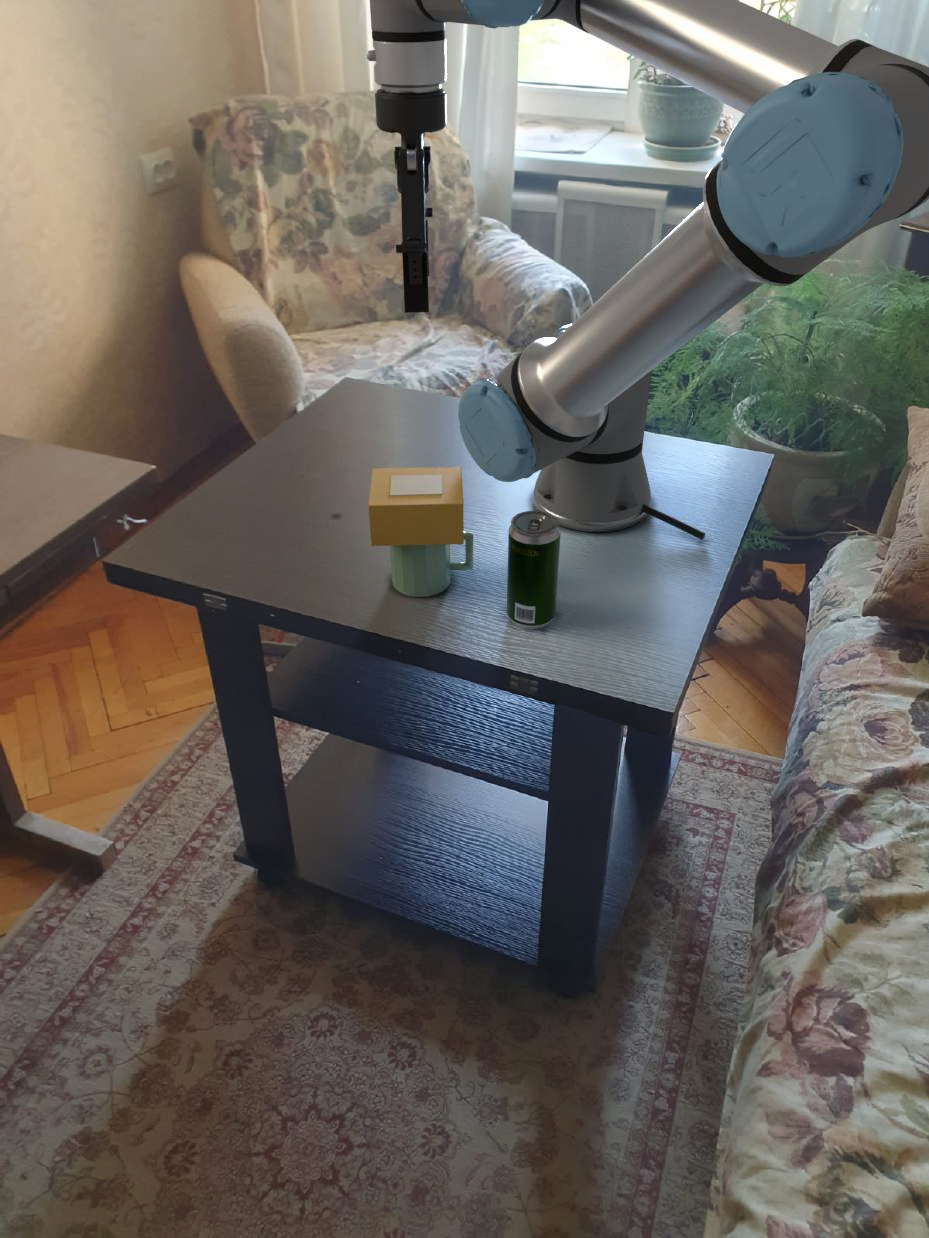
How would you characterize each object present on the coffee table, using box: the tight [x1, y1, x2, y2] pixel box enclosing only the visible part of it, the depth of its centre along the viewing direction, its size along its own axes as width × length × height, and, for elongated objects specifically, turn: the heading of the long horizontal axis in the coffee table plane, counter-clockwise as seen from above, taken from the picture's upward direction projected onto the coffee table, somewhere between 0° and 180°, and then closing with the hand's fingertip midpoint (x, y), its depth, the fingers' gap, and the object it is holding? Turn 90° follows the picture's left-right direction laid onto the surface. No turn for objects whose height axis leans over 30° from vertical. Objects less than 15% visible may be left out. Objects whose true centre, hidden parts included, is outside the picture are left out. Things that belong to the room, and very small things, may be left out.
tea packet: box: [367, 466, 465, 547], centre depth 103 cm, size 10×8×5 cm
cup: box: [389, 531, 474, 598], centre depth 107 cm, size 10×7×8 cm
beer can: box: [506, 510, 561, 630], centre depth 100 cm, size 5×5×12 cm
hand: (417, 293), depth 110 cm, fingers open, 13 cm apart
